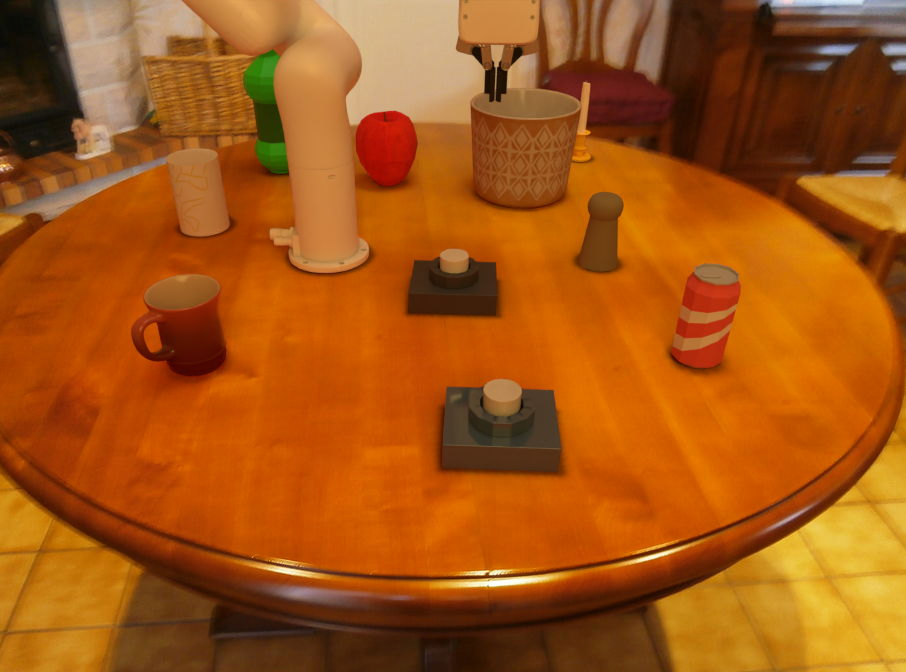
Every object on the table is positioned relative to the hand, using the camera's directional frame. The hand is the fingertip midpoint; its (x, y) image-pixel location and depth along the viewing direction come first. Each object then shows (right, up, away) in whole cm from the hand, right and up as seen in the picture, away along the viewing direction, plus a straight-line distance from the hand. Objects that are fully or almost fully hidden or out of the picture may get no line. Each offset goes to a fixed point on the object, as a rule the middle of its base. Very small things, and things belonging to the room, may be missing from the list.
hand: (494, 99), depth 99 cm
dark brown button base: (-5, -26, +7) cm, 27 cm away
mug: (-38, -37, -8) cm, 54 cm away
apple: (-17, 0, +43) cm, 47 cm away
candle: (+22, +8, +55) cm, 59 cm away
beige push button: (-1, -40, -21) cm, 45 cm away
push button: (-5, -22, +4) cm, 23 cm away
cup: (-47, -12, +27) cm, 55 cm away
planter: (+8, -3, +39) cm, 40 cm away
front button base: (-1, -44, -19) cm, 48 cm away
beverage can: (+25, -35, -6) cm, 43 cm away
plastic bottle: (-39, +4, +49) cm, 63 cm away
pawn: (+17, -20, +16) cm, 31 cm away
